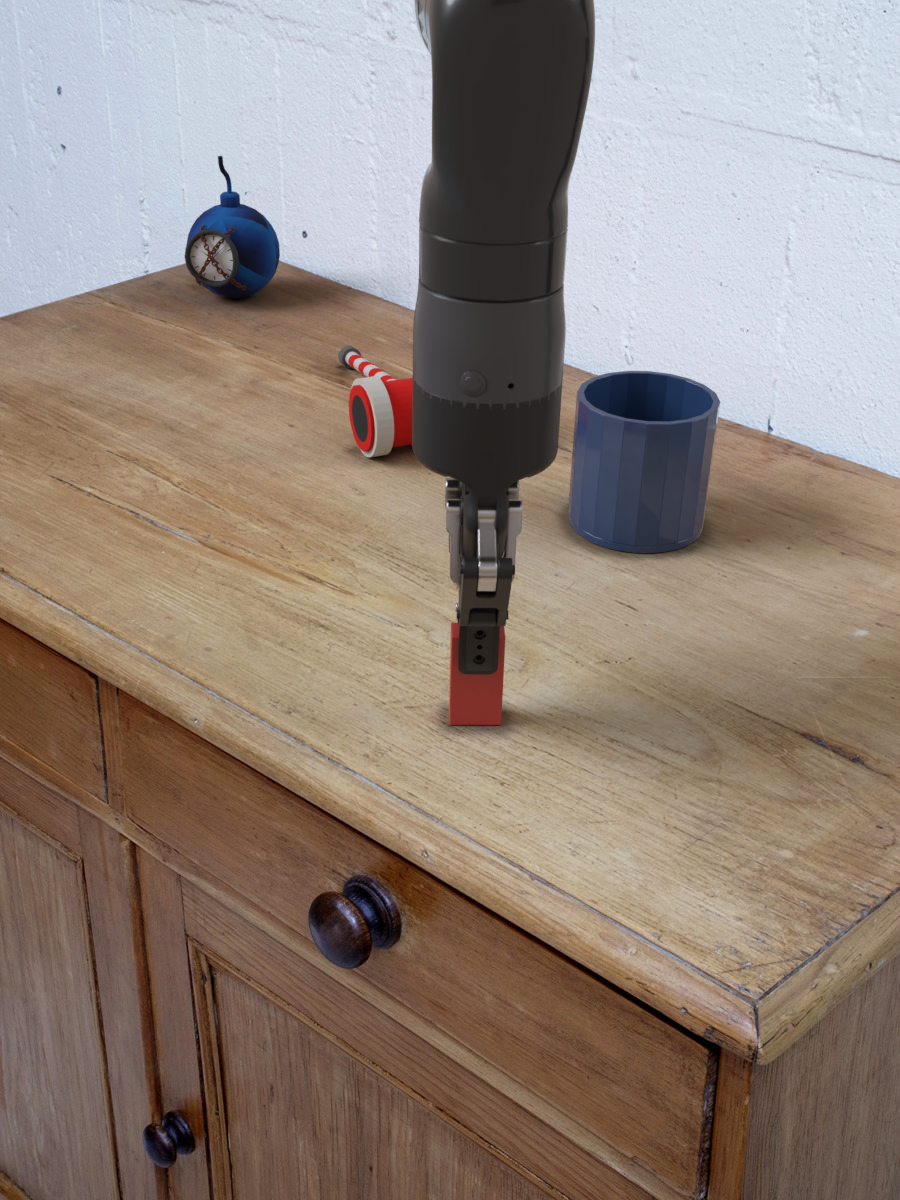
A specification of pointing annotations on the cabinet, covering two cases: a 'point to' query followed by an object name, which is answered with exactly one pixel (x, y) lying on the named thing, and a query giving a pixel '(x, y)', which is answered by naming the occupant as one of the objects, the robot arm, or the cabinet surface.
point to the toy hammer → (378, 406)
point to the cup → (642, 460)
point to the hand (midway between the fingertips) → (476, 658)
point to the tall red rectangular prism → (475, 689)
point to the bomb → (232, 247)
